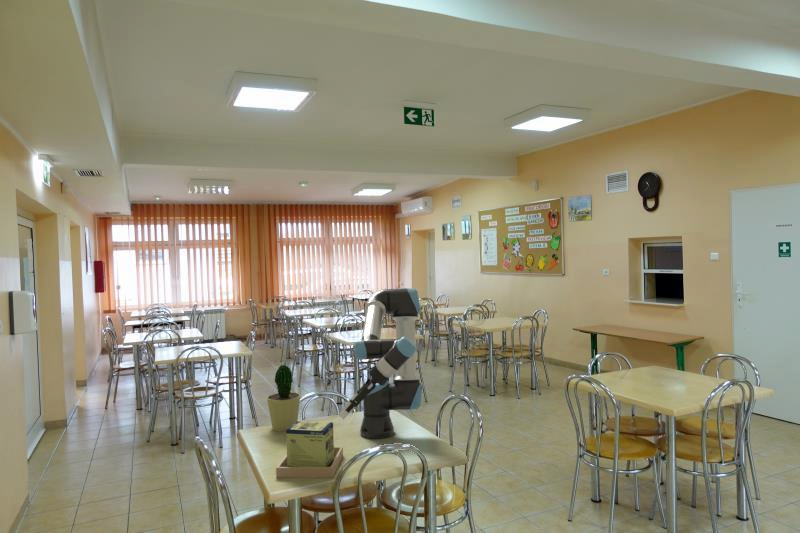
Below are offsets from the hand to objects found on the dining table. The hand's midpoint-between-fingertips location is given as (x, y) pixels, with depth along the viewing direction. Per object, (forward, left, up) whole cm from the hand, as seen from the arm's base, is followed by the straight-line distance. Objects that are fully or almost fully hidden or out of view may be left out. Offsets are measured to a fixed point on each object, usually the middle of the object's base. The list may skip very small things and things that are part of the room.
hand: (344, 412), depth 205 cm
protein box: (+13, -1, -21) cm, 25 cm away
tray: (+13, -1, -21) cm, 25 cm away
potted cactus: (+37, -49, -21) cm, 65 cm away
